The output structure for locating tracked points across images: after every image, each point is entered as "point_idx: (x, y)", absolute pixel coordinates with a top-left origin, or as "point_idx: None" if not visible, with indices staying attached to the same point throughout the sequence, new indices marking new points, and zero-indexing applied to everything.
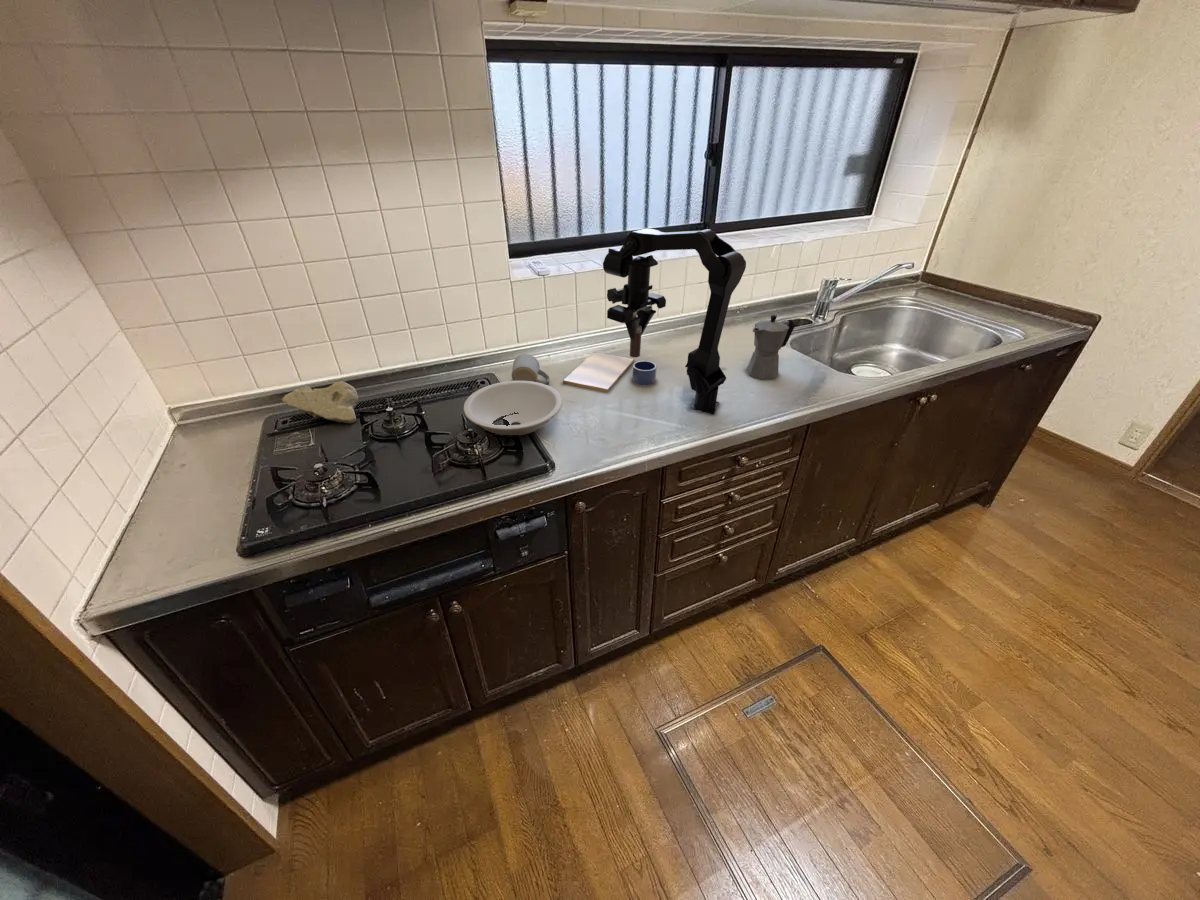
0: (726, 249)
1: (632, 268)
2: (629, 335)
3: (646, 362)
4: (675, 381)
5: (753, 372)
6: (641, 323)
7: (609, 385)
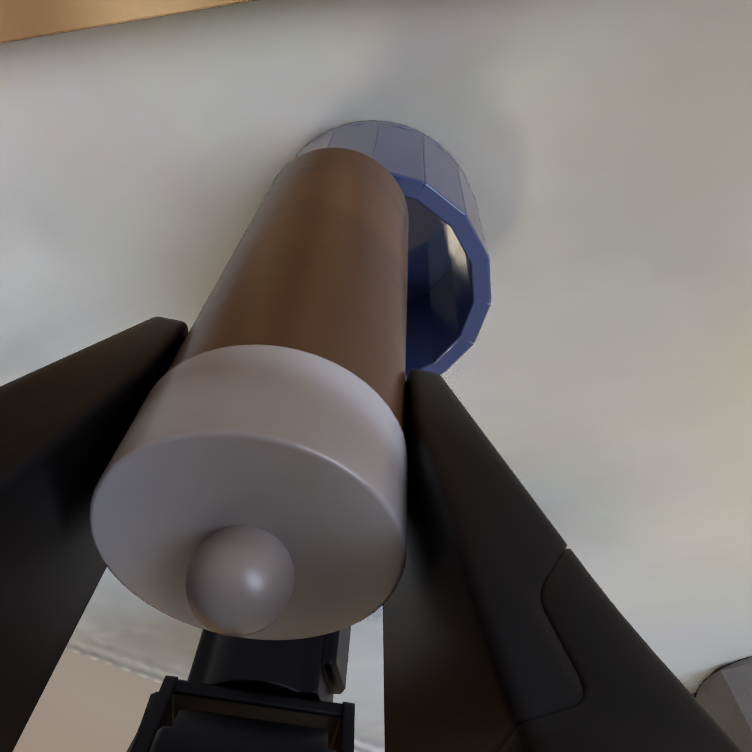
0: None
1: None
2: (107, 347)
3: (469, 264)
4: (490, 413)
5: (724, 698)
6: (419, 651)
7: (20, 21)
